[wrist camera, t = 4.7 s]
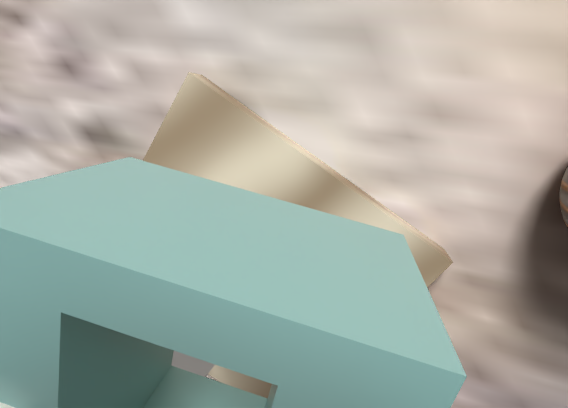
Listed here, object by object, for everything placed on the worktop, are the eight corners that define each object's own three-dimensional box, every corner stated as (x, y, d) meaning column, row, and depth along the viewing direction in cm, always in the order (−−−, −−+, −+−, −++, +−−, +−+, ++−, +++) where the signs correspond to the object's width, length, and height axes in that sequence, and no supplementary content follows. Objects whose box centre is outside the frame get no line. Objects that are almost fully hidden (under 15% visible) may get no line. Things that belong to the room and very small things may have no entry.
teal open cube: (323, 444, 9) (305, 712, 5) (109, 369, 10) (-56, 556, 6) (403, 234, 7) (477, 401, 3) (129, 156, 8) (-103, 212, 4)
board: (444, 249, 17) (452, 262, 16) (289, 406, 22) (285, 427, 20) (201, 75, 17) (188, 72, 15) (96, 272, 21) (78, 284, 20)
